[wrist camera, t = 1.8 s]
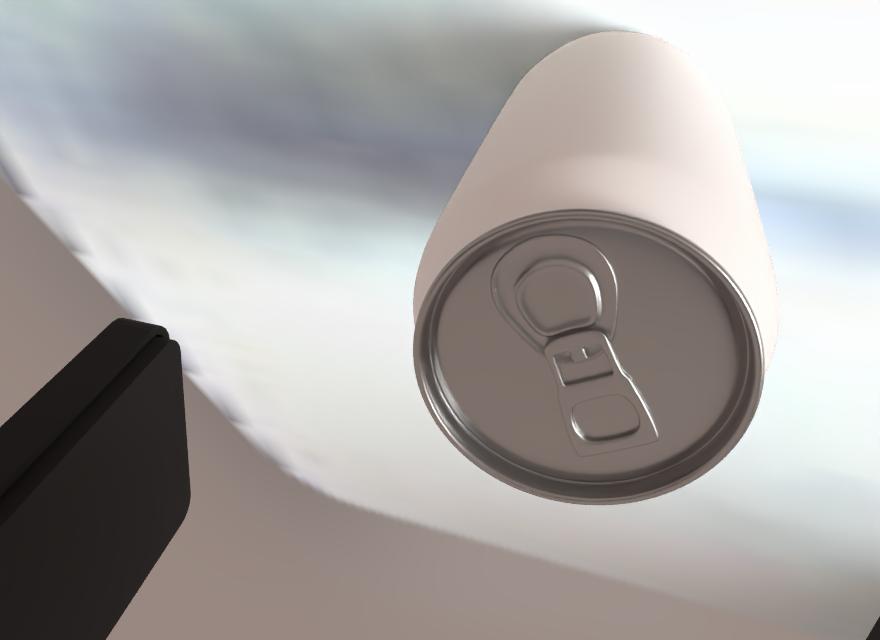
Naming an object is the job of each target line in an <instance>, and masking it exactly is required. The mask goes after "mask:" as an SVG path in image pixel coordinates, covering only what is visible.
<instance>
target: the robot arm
mask: <svg viewBox="0 0 880 640" xmlns="http://www.w3.org/2000/svg"><path fill="white" fill-rule="evenodd" d="M190 493H191V492H190V477H189V464H188V449H187V435H186V422H185V408H184V393H183V378H182V364H181V351H180V346H179V344H178V342H176V341H175V340H170V338H169V334H168V332H167V330H166V328H164V327H162V326H159V325H154V324H149V323H145V322H140V321H135V320H130V319H126V318H118V319H116V320H115V321H113V322H112V323H111V324H110V325H109V326H107V328H105V329H104V330H103V331H102V332H101V333H100V334H99V335H98V336H97V337H96V338H95V339H94V340H93V341H92V342H91V343H89V344H88V345H87V346H86V347H85V348H84V349H83V350H82V351H81V352H80V353H79V354H78V355H77V356H76V357H75V358H73V359H72V361H70V362H69V363H68V364H67V365H66V366H65V367H64V368H63V369H62V370H61V371H60V372H59V373H57V374H56V375H55V376H54V377H53V378H52V379H51V380H50V381H49V382H48V383H47V384H46V385H45V386H44V387H43V388H41V389H40V390H39V391H38V392H37V393H36V394H35V395H34V396H33V397H32V398H31V399H30V400H29V401H28V402H27V403H26V404H24V405H23V406H22V407H21V408H20V409H19V410H18V411H17V412H16V413H15V414H14V415H13V416H12V417H11V418H10V419H9V420H8V421H6V422H5V423H4V424H3V425H2V426H1V427H0V640H106V638H107V637H108V635H109V634H110V632H111V631H112V629H113V628H114V626H115V625H116V623H117V622H118V620H119V618H120V617H121V616H122V614H123V613H124V611H125V609H126V608H127V606H128V605H129V603H130V602H131V600H132V599H133V597H134V596H135V594H136V593H137V591H138V590H139V588H140V587H141V585H142V583H143V582H144V580H145V579H146V577H147V576H148V574H149V573H150V571H151V570H152V568H153V567H154V565H155V563H156V562H157V561H158V559H159V557H160V556H161V555H162V553H163V551H164V550H165V548H166V547H167V545H168V544H169V542H170V541H171V539H172V538H173V536H174V535H175V533H176V532H177V530H178V528H179V527H180V525H181V524H182V522H183V520H184V519H185V516H186V514H187V511H188V508H189V504H190V495H191V494H190ZM866 640H880V617H879V619H878V620H877V622H876V624H875V625H874V627H873V629H872V630H871V632H870V634H869V636H868V637H867V639H866Z"/></svg>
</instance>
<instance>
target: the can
mask: <svg viewBox="0 0 880 640" xmlns="http://www.w3.org/2000/svg"><path fill="white" fill-rule="evenodd" d="M413 312H414V323H415V331H414V340H413V358H414V367H415V373H416V378H417V382H418V386H419V389H420V392H421V395H422V397H423V400H424V402H425V404H426V406H427V408H428V410H429V412H430V414H431V416H432V417H433V419H434V421H435V422H436V424H437V425H438V427H439V428H440V430H441V431H442V432H443V434H444V435H445V436H446V437H447V439H448V440H449V441H450V442H451V443H452V444H453V445H454V446H455V447H456V448H457V449H458V450H459V451H460V452H461V453H462V454H463V455H464V456H465V457H466V458H467V459H469V460H470V461H471V462H472V463H474V464H475V465H476V466H478V467H479V468H480V469H482V470H483V471H485V472H486V473H488V474H489V475H491V476H493V477H494V478H496V479H498V480H500V481H502V482H504V483H506V484H508V485H510V486H512V487H514V488H516V489H519V490H521V491H524V492H527V493H529V494H532V495H535V496H539V497H542V498H546V499H550V500H554V501H559V502H565V503H572V504H582V505H615V504H625V503H632V502H637V501H642V500H646V499H650V498H654V497H657V496H660V495H663V494H666V493H669V492H672V491H674V490H676V489H679V488H681V487H683V486H685V485H687V484H689V483H691V482H692V481H694V480H696V479H697V478H699V477H701V476H702V475H704V474H705V473H707V472H708V471H709V470H711V469H712V468H713V467H714V466H716V465H717V464H718V463H719V462H720V461H721V460H723V459H724V458H725V457H726V456H727V455H728V454H729V452H730V451H731V450H732V449H733V448H734V447H735V446H736V444H737V443H738V442H739V440H740V439H741V438H742V436H743V435H744V433H745V432H746V430H747V428H748V427H749V425H750V423H751V421H752V419H753V417H754V415H755V412H756V410H757V407H758V404H759V401H760V397H761V394H762V389H763V383H764V377H765V375H766V373H767V370H768V368H769V366H770V363H771V360H772V357H773V354H774V350H775V346H776V342H777V335H778V327H779V300H778V290H777V284H776V279H775V274H774V269H773V264H772V260H771V256H770V252H769V248H768V244H767V241H766V237H765V233H764V229H763V226H762V222H761V218H760V215H759V211H758V208H757V204H756V200H755V197H754V193H753V190H752V186H751V183H750V179H749V176H748V172H747V168H746V165H745V162H744V158H743V155H742V151H741V148H740V144H739V141H738V138H737V134H736V131H735V127H734V124H733V121H732V118H731V115H730V112H729V109H728V106H727V104H726V101H725V99H724V97H723V95H722V93H721V91H720V89H719V87H718V86H717V84H716V82H715V81H714V79H713V78H712V77H711V75H710V74H709V73H708V72H707V70H706V69H705V68H704V67H703V66H702V65H701V64H700V63H699V62H698V61H697V60H696V59H694V58H693V57H692V56H691V55H689V54H688V53H687V52H685V51H684V50H682V49H680V48H679V47H677V46H675V45H673V44H671V43H669V42H667V41H665V40H662V39H659V38H657V37H653V36H650V35H646V34H641V33H634V32H624V31H606V32H599V33H594V34H590V35H587V36H584V37H581V38H578V39H576V40H574V41H571V42H569V43H567V44H565V45H564V46H562V47H560V48H558V49H557V50H555V51H554V52H552V53H551V54H549V55H548V56H546V57H545V58H543V59H542V60H541V61H540V62H538V63H537V64H536V65H535V66H534V67H533V68H532V69H531V70H530V71H529V72H528V73H527V74H526V75H525V76H524V77H523V78H522V80H521V81H520V82H519V84H518V85H517V87H516V88H515V89H514V91H513V92H512V94H511V96H510V97H509V99H508V100H507V102H506V104H505V105H504V107H503V109H502V110H501V112H500V114H499V115H498V117H497V119H496V120H495V122H494V124H493V125H492V127H491V129H490V131H489V132H488V134H487V136H486V137H485V139H484V141H483V143H482V144H481V146H480V148H479V149H478V151H477V153H476V155H475V156H474V158H473V160H472V162H471V163H470V165H469V167H468V168H467V170H466V172H465V174H464V175H463V177H462V179H461V181H460V182H459V184H458V186H457V188H456V189H455V191H454V193H453V195H452V196H451V198H450V200H449V202H448V204H447V205H446V207H445V209H444V211H443V213H442V214H441V216H440V218H439V220H438V222H437V224H436V226H435V228H434V230H433V232H432V234H431V236H430V238H429V240H428V242H427V244H426V247H425V249H424V252H423V255H422V258H421V261H420V264H419V268H418V272H417V276H416V281H415V287H414V298H413Z"/></svg>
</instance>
